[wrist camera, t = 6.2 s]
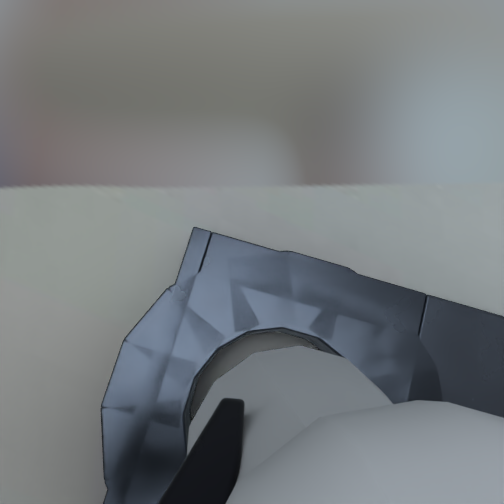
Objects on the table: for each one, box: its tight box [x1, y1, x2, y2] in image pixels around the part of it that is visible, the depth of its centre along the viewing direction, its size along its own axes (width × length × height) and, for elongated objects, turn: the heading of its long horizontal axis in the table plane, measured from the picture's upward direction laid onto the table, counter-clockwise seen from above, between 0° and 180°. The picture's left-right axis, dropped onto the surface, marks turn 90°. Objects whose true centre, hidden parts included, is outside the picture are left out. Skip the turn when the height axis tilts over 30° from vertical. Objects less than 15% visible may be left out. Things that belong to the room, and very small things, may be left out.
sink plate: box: [101, 227, 504, 504], centre depth 19 cm, size 25×13×2 cm, turn 74°
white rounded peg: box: [187, 345, 504, 504], centre depth 9 cm, size 6×6×13 cm
